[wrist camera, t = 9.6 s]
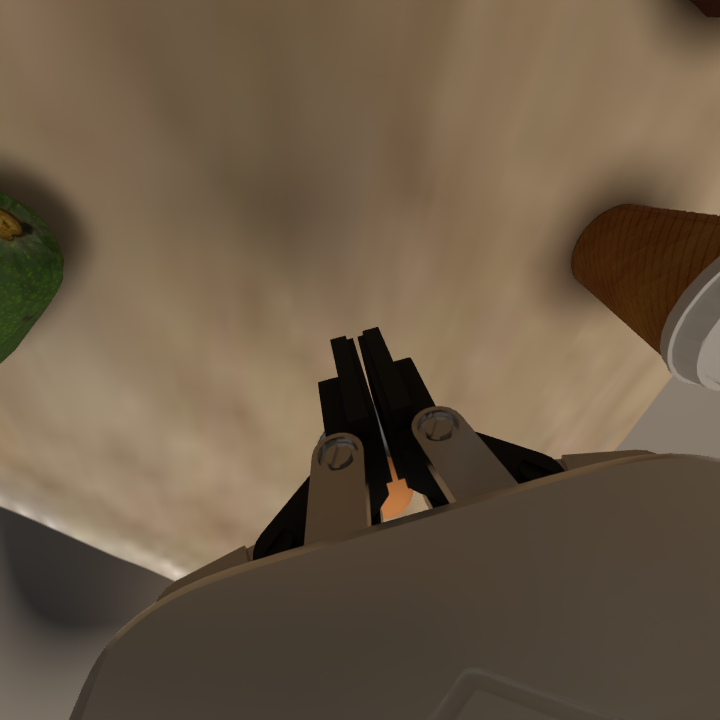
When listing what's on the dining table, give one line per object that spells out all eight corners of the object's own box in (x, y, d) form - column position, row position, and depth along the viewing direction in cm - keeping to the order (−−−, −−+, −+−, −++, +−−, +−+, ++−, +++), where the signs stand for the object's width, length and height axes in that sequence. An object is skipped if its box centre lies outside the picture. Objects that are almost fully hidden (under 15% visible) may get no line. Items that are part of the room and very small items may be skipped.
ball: (364, 539, 34) (358, 499, 39) (424, 523, 34) (410, 485, 39) (350, 487, 32) (345, 453, 37) (413, 471, 32) (400, 439, 38)
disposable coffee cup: (627, 307, 32) (777, 398, 23) (531, 300, 30) (652, 397, 20) (699, 188, 27) (933, 240, 17) (589, 169, 25) (787, 215, 15)
